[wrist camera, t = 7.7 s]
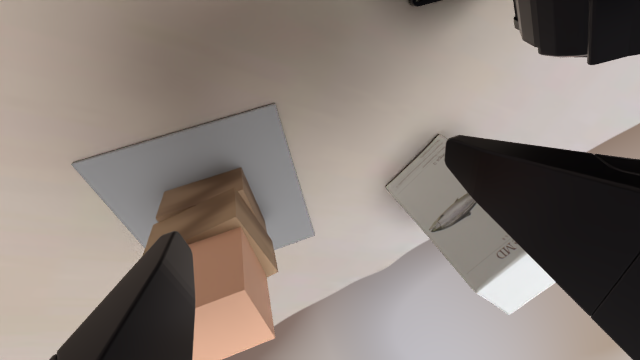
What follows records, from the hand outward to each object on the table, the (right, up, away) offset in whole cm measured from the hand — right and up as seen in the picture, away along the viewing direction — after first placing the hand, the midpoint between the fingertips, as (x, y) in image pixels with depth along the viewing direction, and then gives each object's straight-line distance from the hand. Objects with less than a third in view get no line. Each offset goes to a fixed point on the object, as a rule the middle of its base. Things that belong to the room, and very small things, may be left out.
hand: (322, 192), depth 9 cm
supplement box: (+11, +1, +20) cm, 23 cm away
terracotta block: (-7, -5, +9) cm, 12 cm away
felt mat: (-9, -2, +14) cm, 17 cm away
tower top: (-8, -4, +11) cm, 14 cm away
